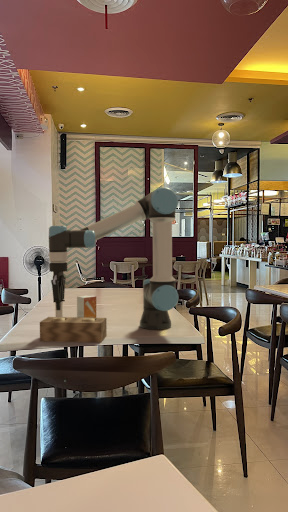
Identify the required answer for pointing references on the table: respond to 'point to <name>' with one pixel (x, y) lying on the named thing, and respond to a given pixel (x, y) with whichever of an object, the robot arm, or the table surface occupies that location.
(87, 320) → the peg
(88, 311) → the small box
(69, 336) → the socket block
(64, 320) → the peg
